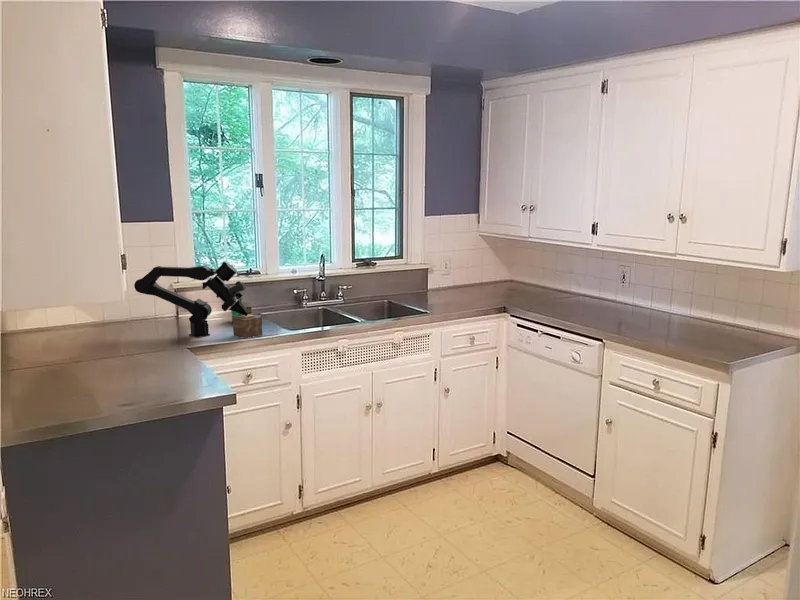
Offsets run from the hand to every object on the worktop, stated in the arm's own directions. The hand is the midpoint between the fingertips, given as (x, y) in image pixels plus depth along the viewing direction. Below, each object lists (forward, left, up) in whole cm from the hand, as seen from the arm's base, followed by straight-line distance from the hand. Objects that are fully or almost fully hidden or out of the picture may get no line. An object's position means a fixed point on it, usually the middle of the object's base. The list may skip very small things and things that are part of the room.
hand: (247, 314), depth 261 cm
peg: (0, 0, -8) cm, 8 cm away
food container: (+13, +25, -9) cm, 30 cm away
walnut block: (0, 0, -9) cm, 9 cm away
